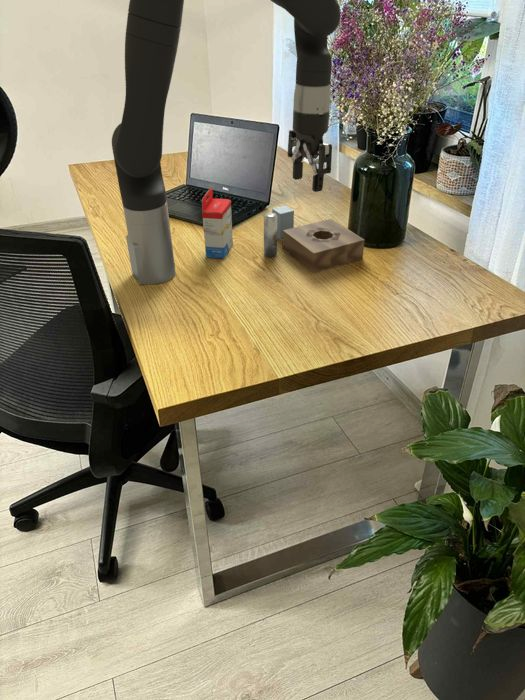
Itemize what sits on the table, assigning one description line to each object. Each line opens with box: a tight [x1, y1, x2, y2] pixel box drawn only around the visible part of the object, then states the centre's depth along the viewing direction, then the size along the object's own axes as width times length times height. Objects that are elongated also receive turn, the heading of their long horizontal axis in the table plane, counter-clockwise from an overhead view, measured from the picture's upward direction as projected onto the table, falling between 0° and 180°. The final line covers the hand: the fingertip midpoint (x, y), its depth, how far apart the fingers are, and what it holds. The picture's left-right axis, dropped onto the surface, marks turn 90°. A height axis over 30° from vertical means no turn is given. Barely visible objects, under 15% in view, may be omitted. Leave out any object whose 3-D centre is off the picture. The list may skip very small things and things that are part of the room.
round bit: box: [263, 212, 278, 258], centre depth 129 cm, size 3×3×10 cm
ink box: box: [201, 186, 234, 259], centre depth 130 cm, size 8×5×15 cm, turn 168°
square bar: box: [271, 205, 295, 241], centre depth 139 cm, size 4×4×7 cm
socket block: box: [282, 218, 365, 274], centre depth 131 cm, size 14×14×5 cm
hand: (307, 184), depth 122 cm, fingers open, 8 cm apart
